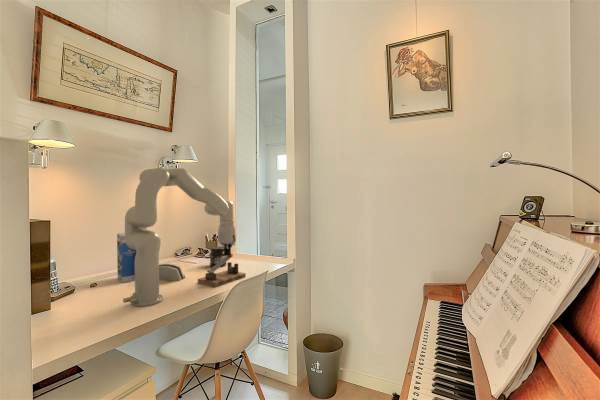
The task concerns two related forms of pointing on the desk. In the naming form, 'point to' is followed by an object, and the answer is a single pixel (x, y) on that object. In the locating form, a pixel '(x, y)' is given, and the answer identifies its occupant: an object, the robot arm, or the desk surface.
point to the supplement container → (217, 256)
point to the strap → (220, 263)
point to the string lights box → (125, 260)
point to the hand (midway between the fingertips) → (227, 255)
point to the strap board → (222, 276)
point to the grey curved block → (170, 272)
